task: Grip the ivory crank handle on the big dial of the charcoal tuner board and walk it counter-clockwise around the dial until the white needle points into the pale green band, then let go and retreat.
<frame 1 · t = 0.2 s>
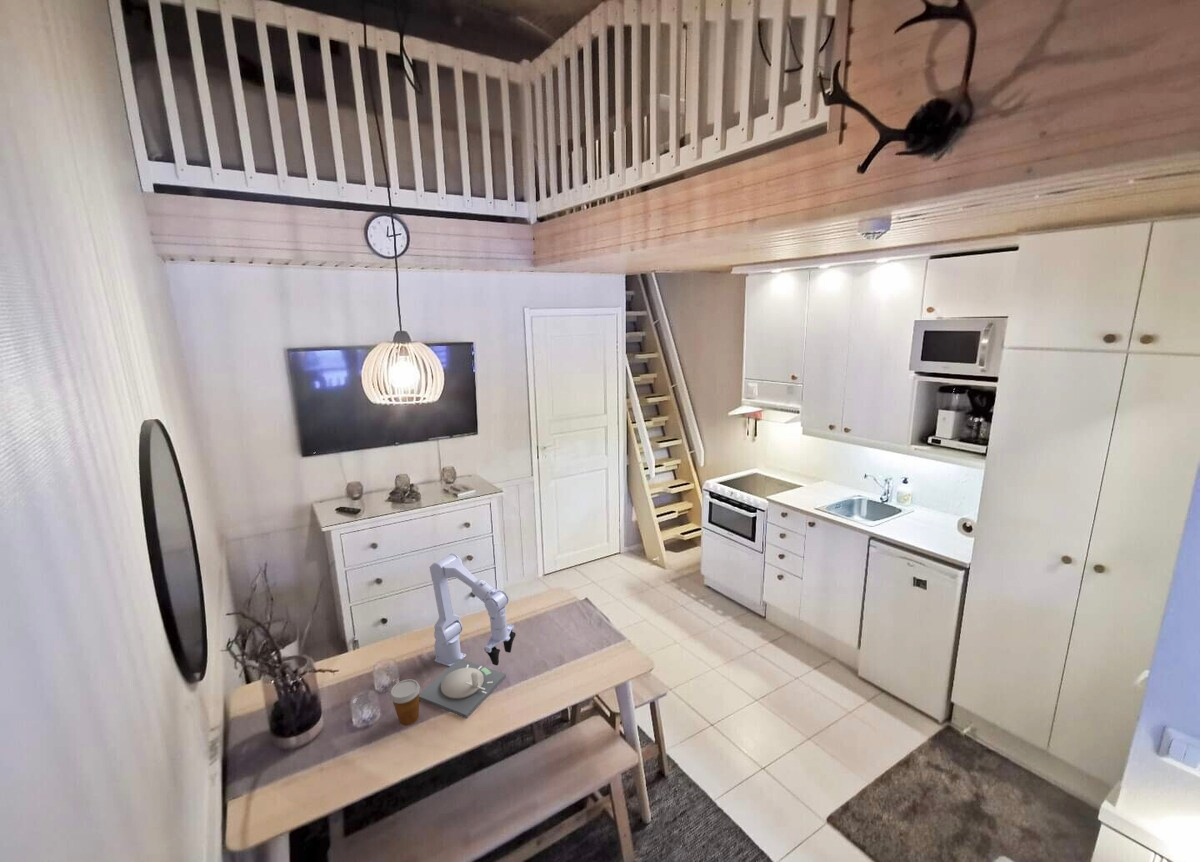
hand: (501, 657, 193), 10 cm above the table, fingers open, 7 cm apart
tuner board: (463, 688, 193), on the table
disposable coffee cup: (409, 719, 179), on the table
tuner knob: (464, 677, 191), point 5 cm above the table, hinge at 0.0°
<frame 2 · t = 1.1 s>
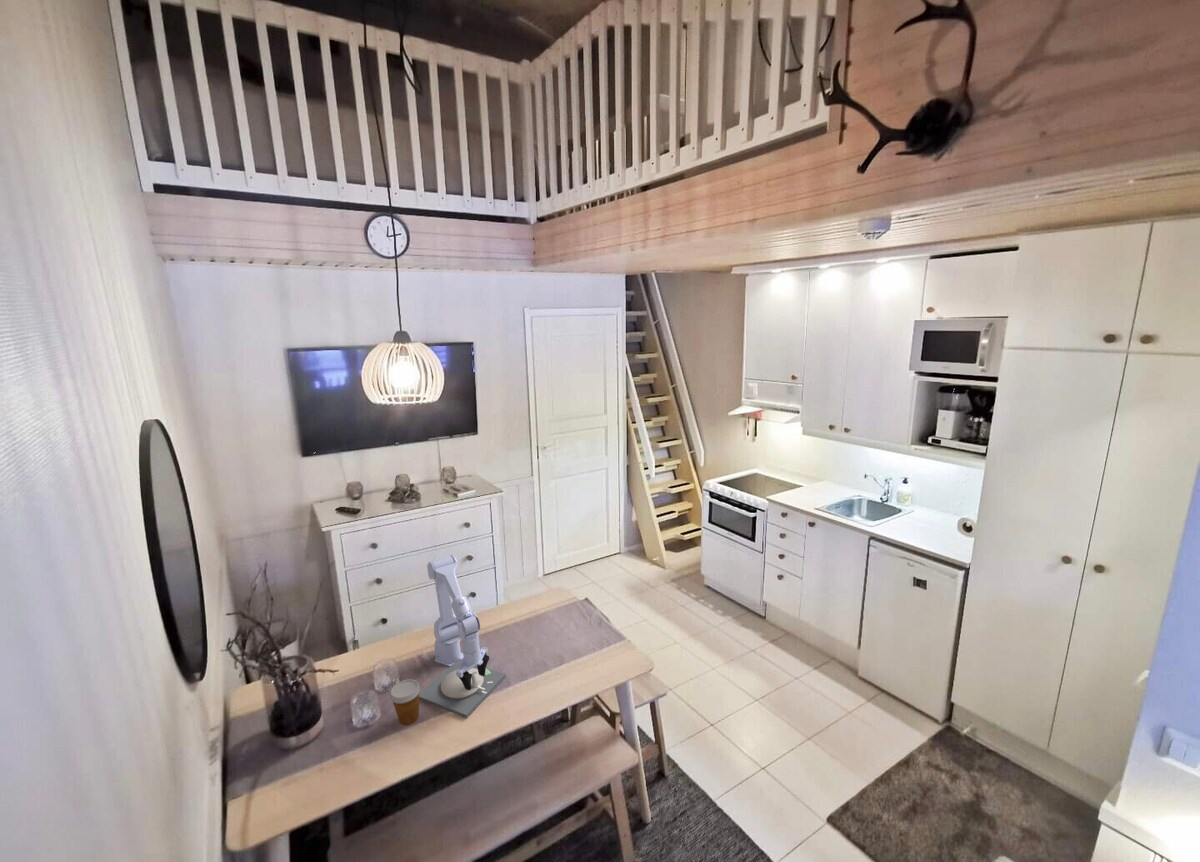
hand: (475, 681, 189), 5 cm above the table, fingers open, 7 cm apart
nothing on the table moved.
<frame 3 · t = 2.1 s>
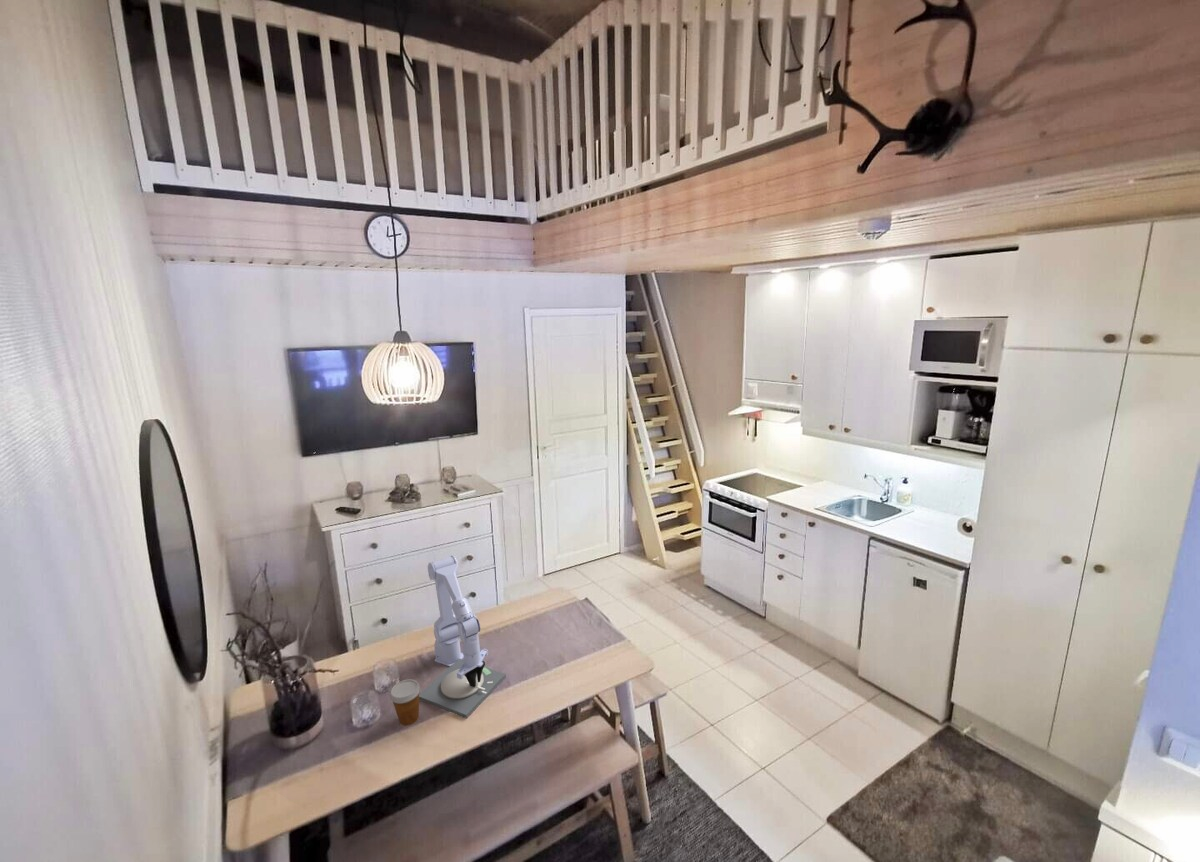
hand: (475, 683, 189), 4 cm above the table, fingers closed on tuner knob, 2 cm apart
tuner knob: (464, 677, 191), point 5 cm above the table, hinge at 0.0°, touching gripper
everything else where it was.
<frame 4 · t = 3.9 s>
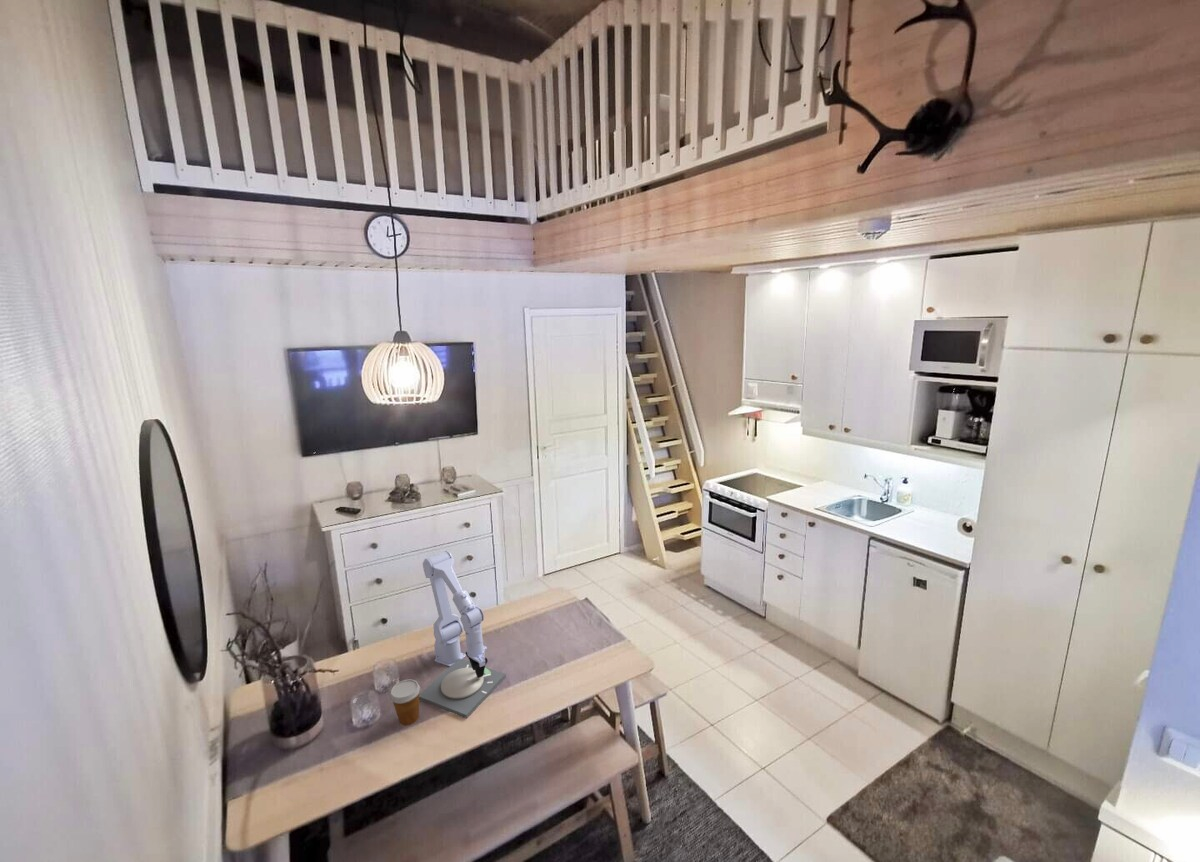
hand: (478, 672, 195), 4 cm above the table, fingers open, 4 cm apart
tuner knob: (465, 675, 192), point 5 cm above the table, hinge at 44.1°, touching gripper
everything else where it was.
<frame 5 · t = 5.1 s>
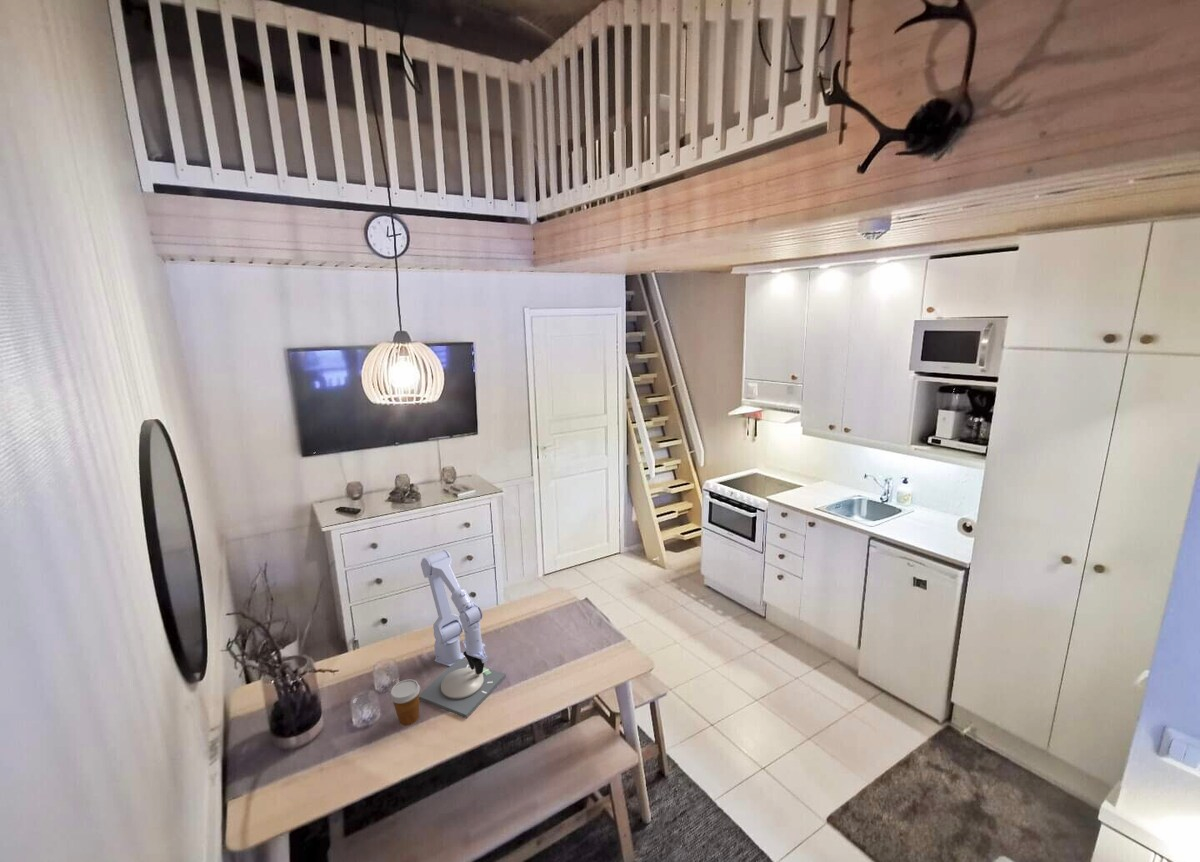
hand: (476, 670, 196), 4 cm above the table, fingers open, 3 cm apart
tuner knob: (465, 675, 192), point 5 cm above the table, hinge at 61.1°, touching gripper
everything else where it was.
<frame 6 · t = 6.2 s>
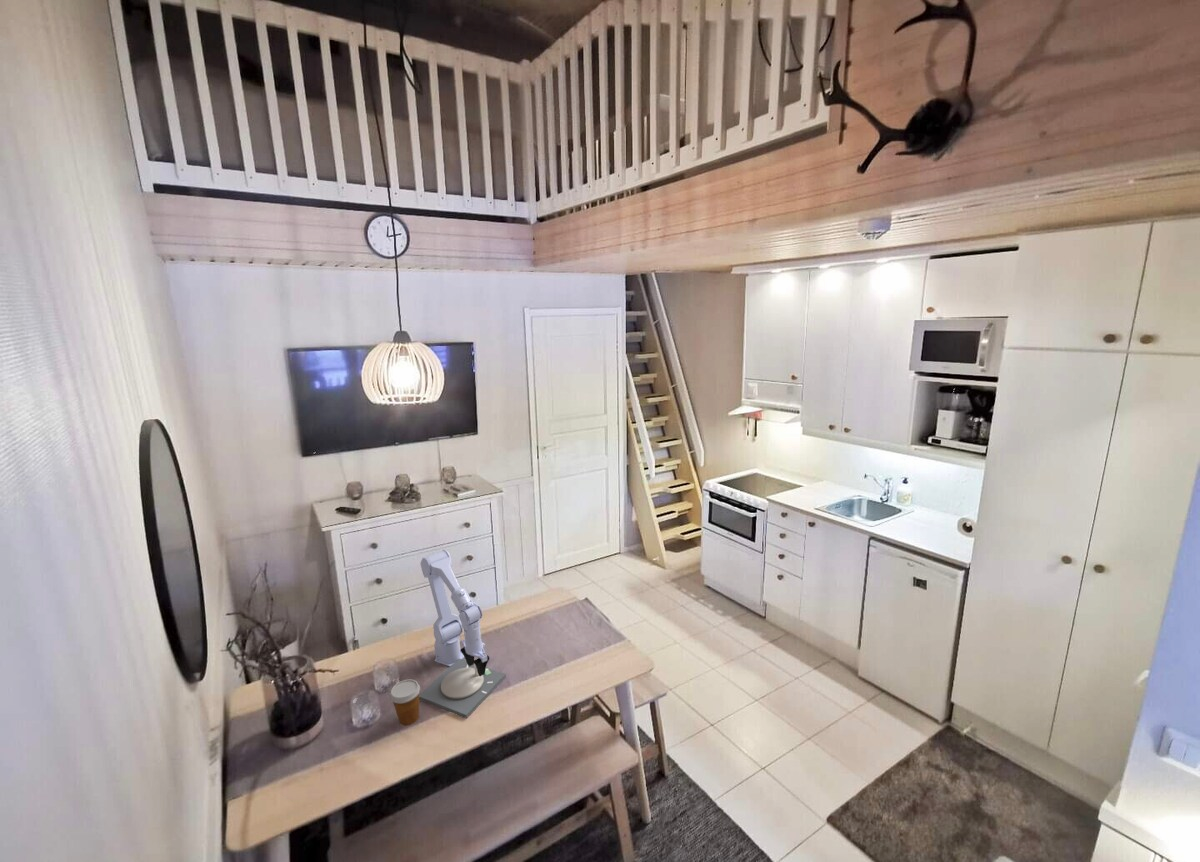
hand: (476, 669, 196), 4 cm above the table, fingers open, 7 cm apart
tuner knob: (465, 675, 192), point 5 cm above the table, hinge at 62.7°
everything else where it was.
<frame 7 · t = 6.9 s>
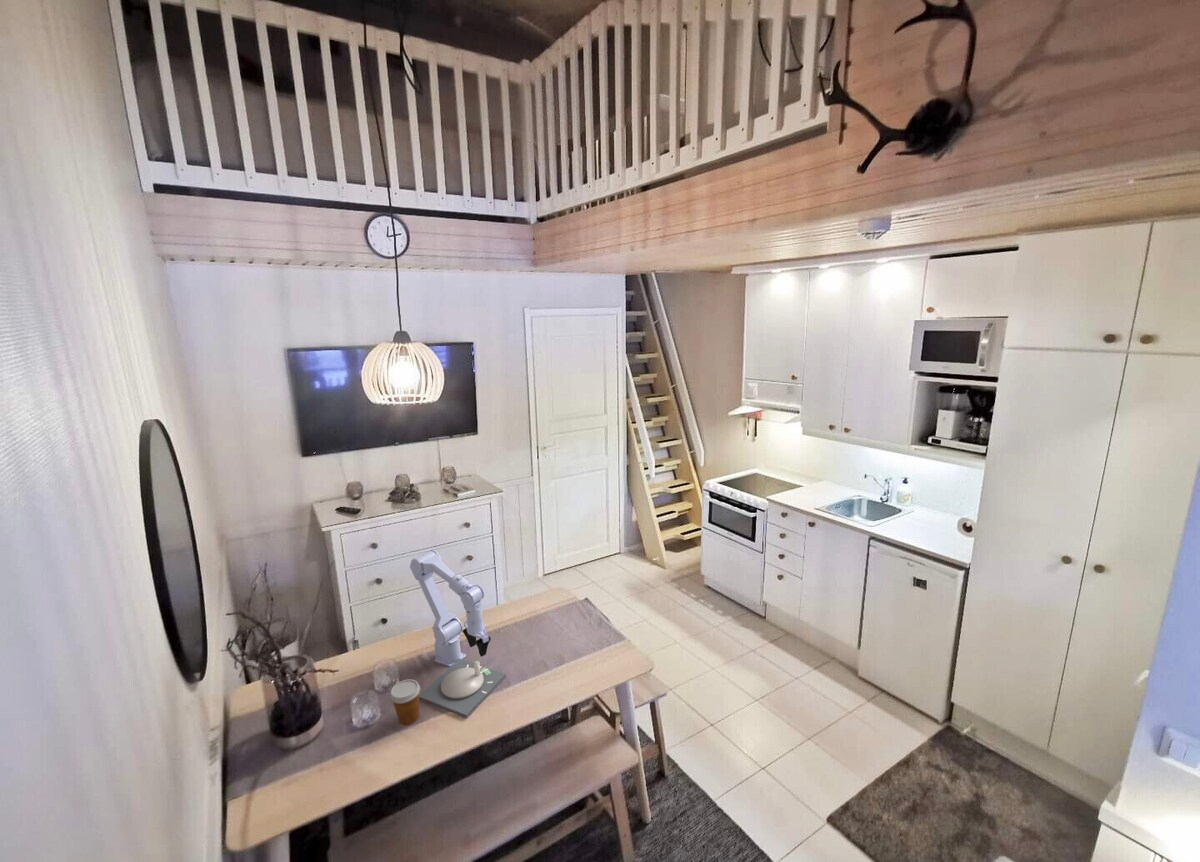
hand: (477, 650, 199), 9 cm above the table, fingers open, 7 cm apart
nothing on the table moved.
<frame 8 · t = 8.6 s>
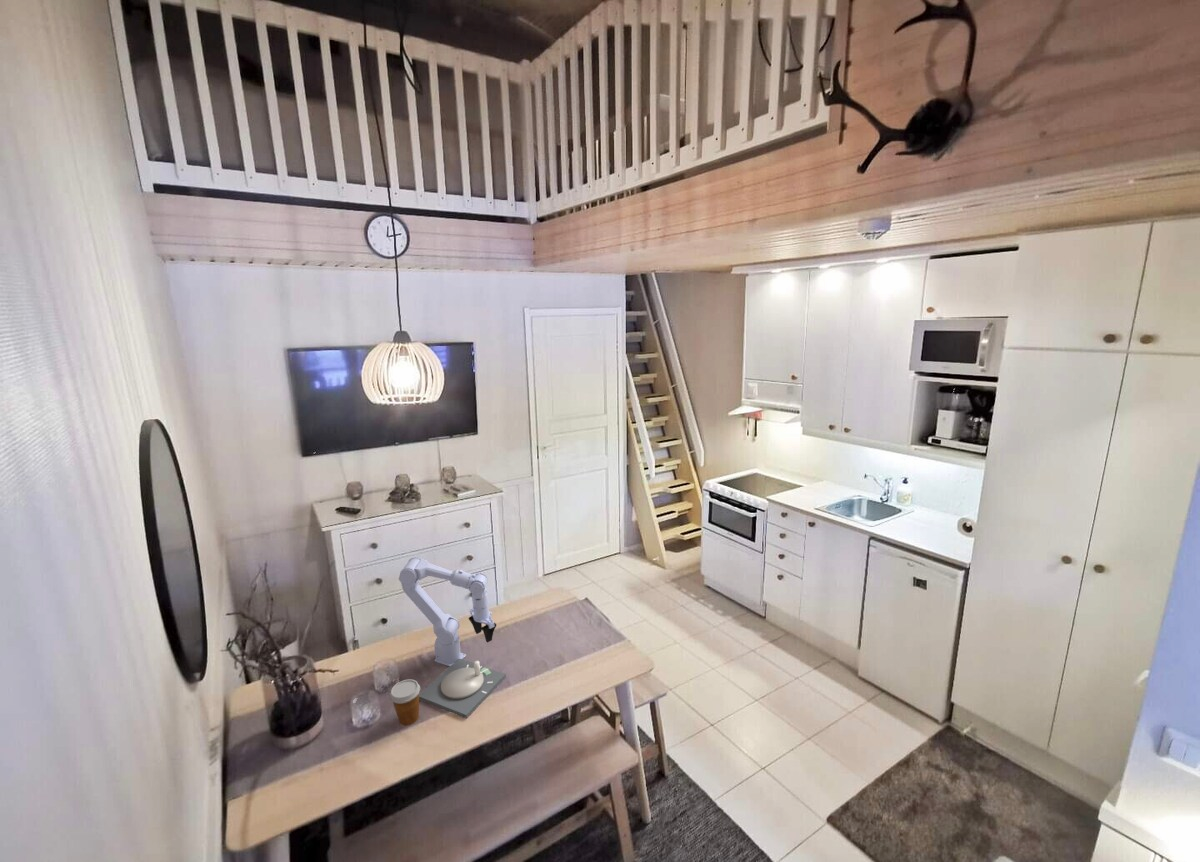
hand: (483, 636, 207), 9 cm above the table, fingers open, 7 cm apart
nothing on the table moved.
at the end: tuner knob at +63° (first picture: +0°); the gripper is holding nothing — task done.
